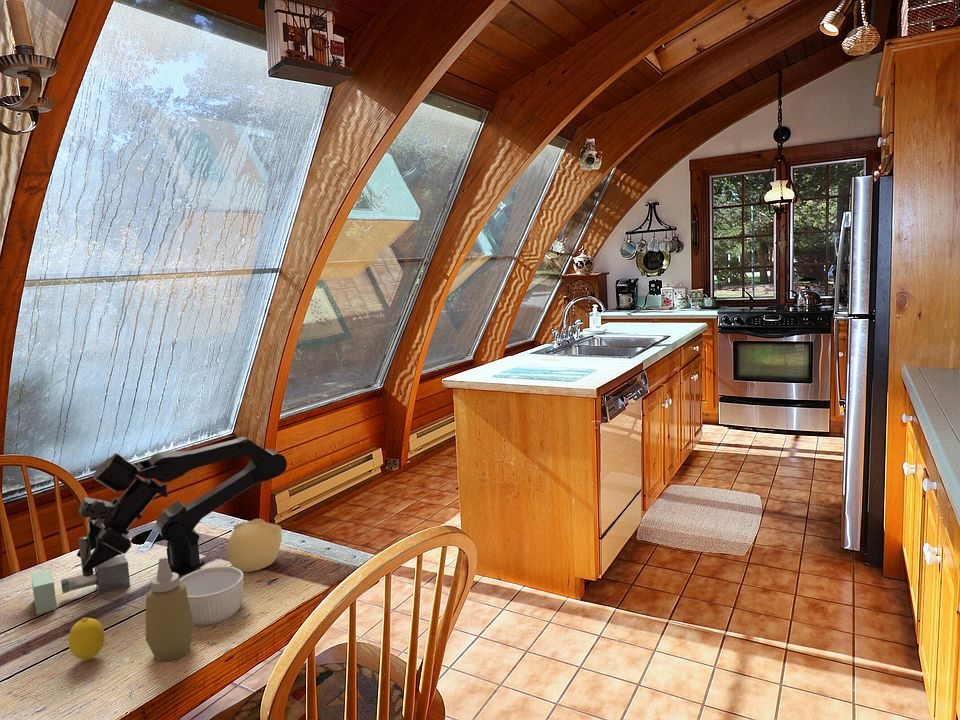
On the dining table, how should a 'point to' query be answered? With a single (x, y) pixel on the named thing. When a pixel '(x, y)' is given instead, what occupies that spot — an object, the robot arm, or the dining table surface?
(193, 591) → the ramekin
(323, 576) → the dining table surface
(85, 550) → the dark grey l-shaped piece
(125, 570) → the grey cubic block
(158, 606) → the squeeze bottle
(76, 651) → the lemon
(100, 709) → the dining table surface
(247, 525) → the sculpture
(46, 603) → the socket block
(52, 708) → the dining table surface
